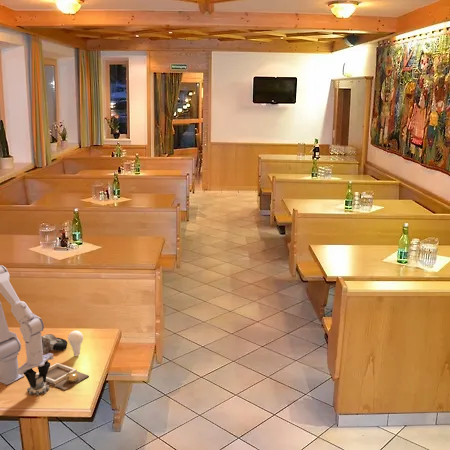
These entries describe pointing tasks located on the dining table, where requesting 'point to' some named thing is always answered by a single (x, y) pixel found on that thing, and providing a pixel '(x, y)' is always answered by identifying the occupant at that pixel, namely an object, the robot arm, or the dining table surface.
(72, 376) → the golden brown dome
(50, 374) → the carrier board
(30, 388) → the planet gear
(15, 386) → the dining table surface
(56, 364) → the carrier pocket
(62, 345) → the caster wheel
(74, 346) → the lightbulb
